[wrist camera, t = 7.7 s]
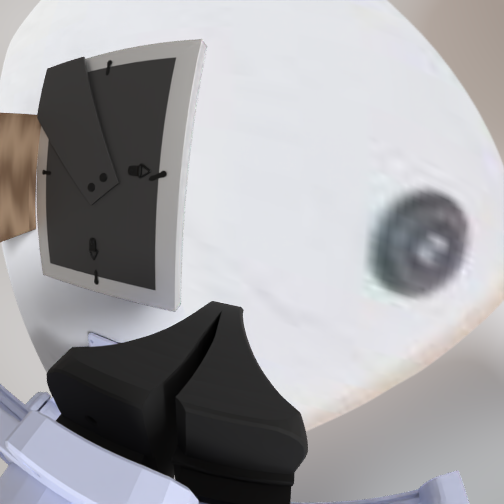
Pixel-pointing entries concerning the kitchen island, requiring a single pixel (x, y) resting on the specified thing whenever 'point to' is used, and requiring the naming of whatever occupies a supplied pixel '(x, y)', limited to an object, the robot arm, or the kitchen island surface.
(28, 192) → the walnut bookend
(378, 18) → the kitchen island surface
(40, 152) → the picture frame
